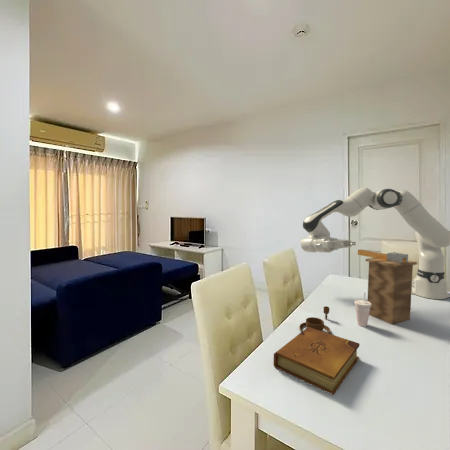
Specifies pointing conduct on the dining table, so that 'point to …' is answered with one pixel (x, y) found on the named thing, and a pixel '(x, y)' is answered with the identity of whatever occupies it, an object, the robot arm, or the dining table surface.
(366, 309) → the smoothie
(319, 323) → the place setting
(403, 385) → the dining table surface
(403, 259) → the mallet
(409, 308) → the stand
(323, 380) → the diary
